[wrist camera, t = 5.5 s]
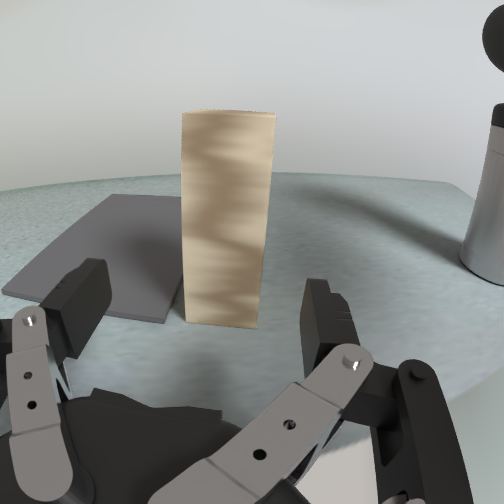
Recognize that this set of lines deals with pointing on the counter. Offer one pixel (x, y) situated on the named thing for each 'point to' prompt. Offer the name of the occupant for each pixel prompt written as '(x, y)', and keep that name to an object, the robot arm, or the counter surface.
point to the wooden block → (225, 213)
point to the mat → (117, 255)
